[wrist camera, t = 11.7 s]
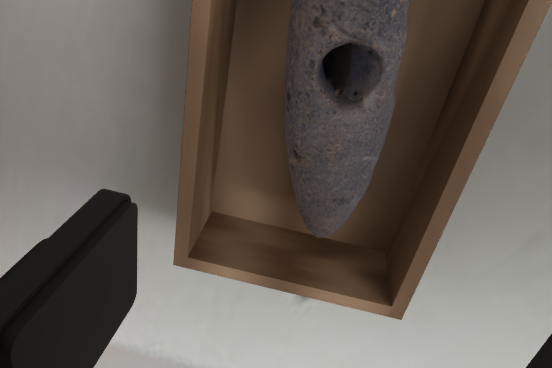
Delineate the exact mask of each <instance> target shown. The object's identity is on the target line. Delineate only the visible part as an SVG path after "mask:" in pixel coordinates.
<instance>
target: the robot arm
mask: <svg viewBox="0 0 552 368" xmlns="http://www.w3.org/2000/svg"><path fill="white" fill-rule="evenodd" d="M137 216H138V209H137V205H136V204H135V203H132V202H131V198H130V196H129V195H127V194H123V193H119V192H115V191H111V190H107V189H101V190H100V191H98V192H97V193H96V194H95V195H94V196H93V197H92V198H91V199H90V200H89V201H88V202H86V203H85V204H84V205H83V206H82V207H81V208H80V209H79V210H78V211H77V212H76V213H75V214H74V215H73V216H72V217H70V218H69V219H68V220H67V221H66V222H65V223H64V224H63V225H62V226H61V227H60V228H59V229H58V230H57V231H56V232H54V233H53V234H52V235H51V236H50V237H49V238H47V239H44V240H42V241H41V242H39V243H38V244H37V245H36V246H35V247H33V248H32V249H31V250H30V251H29V252H28V253H27V254H26V255H25V256H24V257H23V258H22V259H20V260H19V261H18V262H17V263H16V264H15V265H14V266H13V267H12V268H11V269H10V270H9V271H7V272H6V273H5V274H4V275H3V276H2V277H1V278H0V368H93V367H94V366H95V364H96V363H97V361H98V359H99V358H100V356H101V355H102V353H103V351H104V350H105V348H106V347H107V345H108V344H109V342H110V340H111V339H112V337H113V336H114V334H115V332H116V331H117V329H118V328H119V326H120V325H121V323H122V321H123V320H124V318H125V317H126V315H127V313H128V312H129V310H130V309H131V307H132V305H133V303H134V300H135V297H136V293H137ZM526 368H552V334H551V335H550V337H549V338H548V339H547V341H546V342H545V343H544V345H543V346H542V347H541V349H540V350H539V351H538V352H537V354H536V355H535V356H534V358H533V359H532V360H531V362H530V363H529V364H528V366H527V367H526Z"/></svg>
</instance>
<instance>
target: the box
mask: <svg viewBox="0 0 552 368" xmlns="http://www.w3.org/2000/svg"><path fill="white" fill-rule="evenodd" d="M291 2H292V0H192V9H191V24H190V38H189V52H188V66H187V80H186V94H185V108H184V122H183V137H182V151H181V165H180V179H179V193H178V207H177V221H176V235H175V250H174V264H173V265H177V266H181V267H185V268H189V269H193V270H197V271H201V272H206V273H210V274H214V275H218V276H222V277H226V278H230V279H234V280H239V281H243V282H247V283H251V284H255V285H259V286H263V287H268V288H272V289H276V290H280V291H284V292H288V293H292V294H296V295H301V296H305V297H309V298H313V299H317V300H321V301H325V302H330V303H334V304H338V305H342V306H346V307H350V308H354V309H358V310H363V311H367V312H371V313H375V314H379V315H383V316H387V317H392V318H396V319H400V320H401V319H402V317H403V315H404V313H405V311H406V309H407V307H408V305H409V302H410V300H411V298H412V296H413V294H414V292H415V290H416V288H417V286H418V283H419V281H420V279H421V277H422V275H423V273H424V271H425V269H426V267H427V264H428V262H429V260H430V258H431V256H432V254H433V252H434V250H435V247H436V245H437V243H438V241H439V239H440V237H441V235H442V233H443V231H444V228H445V226H446V224H447V222H448V220H449V218H450V216H451V214H452V212H453V209H454V207H455V205H456V203H457V201H458V199H459V197H460V195H461V192H462V190H463V188H464V186H465V184H466V182H467V180H468V178H469V176H470V173H471V171H472V169H473V167H474V165H475V163H476V161H477V159H478V157H479V154H480V152H481V150H482V148H483V146H484V144H485V142H486V140H487V137H488V135H489V133H490V131H491V129H492V127H493V125H494V123H495V121H496V118H497V116H498V114H499V112H500V110H501V108H502V106H503V104H504V102H505V99H506V97H507V95H508V93H509V91H510V89H511V87H512V85H513V82H514V80H515V78H516V76H517V74H518V72H519V70H520V68H521V66H522V63H523V61H524V59H525V57H526V55H527V53H528V51H529V49H530V47H531V44H532V42H533V40H534V38H535V36H536V34H537V32H538V30H539V27H540V25H541V23H542V21H543V19H544V17H545V15H546V13H547V11H548V8H549V6H550V4H551V2H552V0H410V4H409V7H408V10H407V16H408V26H407V42H406V46H405V49H404V52H403V56H402V60H401V63H400V67H399V71H398V74H397V78H396V83H395V89H394V90H395V94H396V98H397V100H396V104H395V108H394V112H393V115H392V119H391V122H390V126H389V129H388V133H387V136H386V139H385V142H384V145H383V148H382V150H381V153H380V156H379V159H378V161H377V163H376V165H375V168H374V171H373V175H372V179H371V181H370V184H369V186H368V188H367V190H366V192H365V194H364V195H363V197H362V198H361V200H360V201H359V203H358V205H357V206H356V207H355V209H354V211H353V212H352V213H351V215H350V216H349V218H348V219H347V220H346V222H345V223H344V224H343V225H342V226H341V227H340V228H339V229H338V230H336V231H335V232H334V233H332V234H331V235H329V236H326V237H323V238H319V237H318V238H316V236H315V235H314V234H313V233H312V232H310V231H309V230H308V228H307V226H306V224H305V223H304V221H303V219H302V217H301V215H300V212H299V209H298V206H297V202H296V198H295V193H294V190H293V186H292V180H291V174H290V169H289V163H288V156H287V145H286V136H285V71H286V52H287V38H288V29H289V20H290V11H291Z"/></svg>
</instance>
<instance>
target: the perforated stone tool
mask: <svg viewBox="0 0 552 368" xmlns="http://www.w3.org/2000/svg"><path fill="white" fill-rule="evenodd" d="M409 4H410V0H292V2H291V11H290V20H289V29H288V38H287V52H286V71H285V136H286V145H287V156H288V163H289V169H290V174H291V180H292V186H293V190H294V193H295V198H296V202H297V206H298V209H299V212H300V215H301V217H302V219H303V221H304V223H305V224H306V226H307V228H308V230H309V231H310V232H312V233H313V234H314V235H315V236H316V238H318V237H319V238H323V237H326V236H329V235H331V234H332V233H334V232H335V231H336V230H338V229H339V228H340V227H341V226H342V225H343V224H344V223H345V222H346V220H347V219H348V218H349V216H350V215H351V213H352V212H353V211H354V209H355V207H356V206H357V205H358V203H359V201H360V200H361V198H362V197H363V195H364V194H365V192H366V190H367V188H368V186H369V184H370V181H371V179H372V175H373V171H374V168H375V165H376V163H377V161H378V159H379V156H380V153H381V150H382V148H383V145H384V142H385V139H386V136H387V133H388V129H389V126H390V122H391V119H392V115H393V112H394V108H395V104H396V100H397V98H396V94H395V90H394V89H395V83H396V78H397V74H398V71H399V67H400V63H401V60H402V56H403V52H404V49H405V46H406V42H407V26H408V16H407V10H408V7H409Z"/></svg>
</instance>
